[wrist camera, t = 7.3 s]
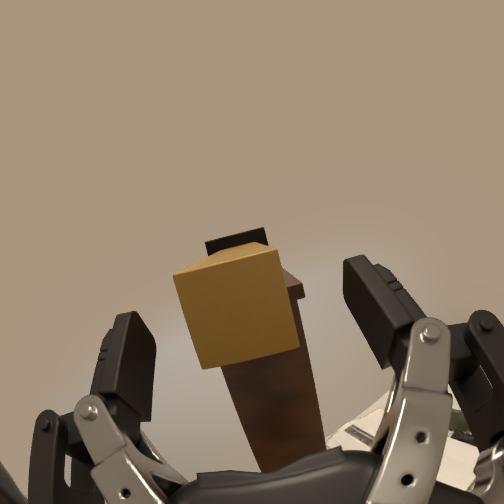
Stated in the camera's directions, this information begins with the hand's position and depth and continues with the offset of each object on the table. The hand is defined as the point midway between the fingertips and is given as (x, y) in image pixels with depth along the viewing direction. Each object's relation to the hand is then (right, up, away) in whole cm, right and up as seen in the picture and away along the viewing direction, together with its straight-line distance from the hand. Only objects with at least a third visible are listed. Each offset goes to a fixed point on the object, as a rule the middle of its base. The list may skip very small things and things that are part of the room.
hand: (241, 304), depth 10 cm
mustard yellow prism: (0, -1, +8) cm, 8 cm away
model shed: (+24, -32, +15) cm, 42 cm away
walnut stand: (+9, -35, +15) cm, 39 cm away
